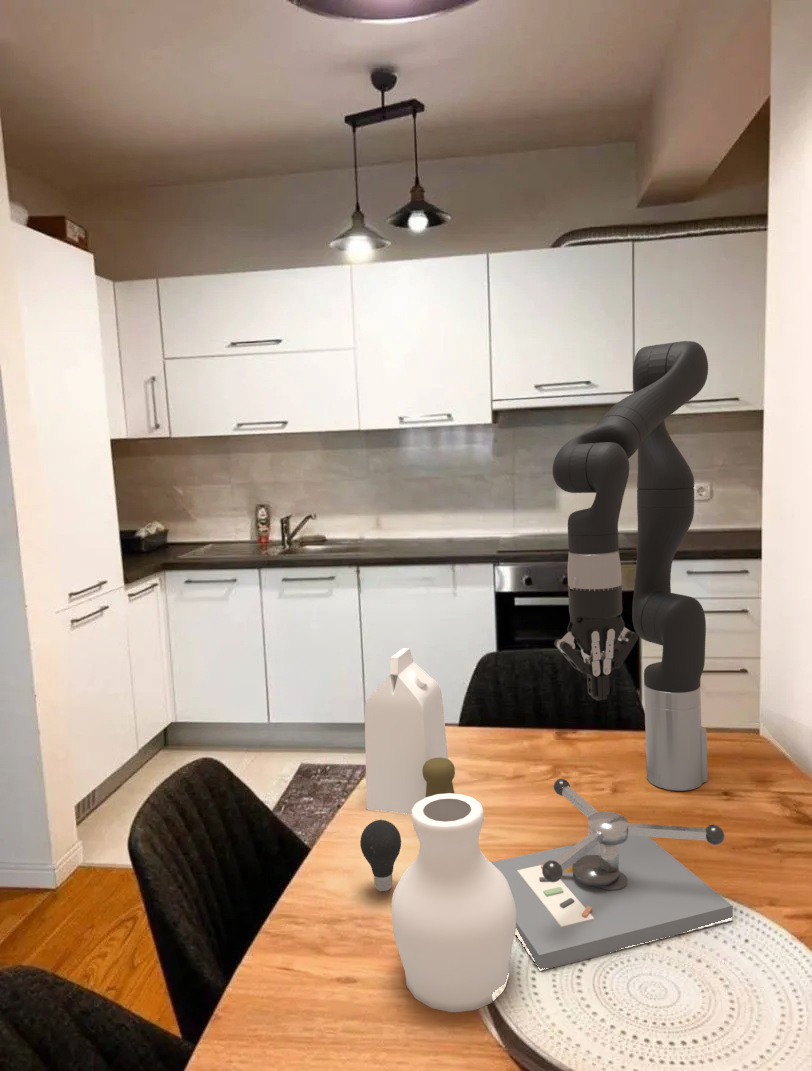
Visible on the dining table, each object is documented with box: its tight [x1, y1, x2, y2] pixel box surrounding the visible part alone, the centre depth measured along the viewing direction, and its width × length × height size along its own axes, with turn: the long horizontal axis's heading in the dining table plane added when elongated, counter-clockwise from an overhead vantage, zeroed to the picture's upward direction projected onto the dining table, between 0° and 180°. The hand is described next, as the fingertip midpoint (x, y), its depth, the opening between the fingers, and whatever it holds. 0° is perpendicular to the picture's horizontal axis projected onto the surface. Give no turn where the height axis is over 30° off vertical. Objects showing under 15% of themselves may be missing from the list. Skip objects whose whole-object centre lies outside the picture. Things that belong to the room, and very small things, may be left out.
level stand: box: [490, 835, 734, 969], centre depth 98 cm, size 26×20×2 cm
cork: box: [422, 758, 456, 797], centre depth 119 cm, size 6×6×11 cm
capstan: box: [542, 778, 726, 887], centre depth 97 cm, size 23×25×8 cm
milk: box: [364, 647, 449, 815], centre depth 129 cm, size 12×12×26 cm
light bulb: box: [359, 819, 402, 894], centre depth 103 cm, size 6×6×10 cm
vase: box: [391, 793, 517, 1013], centre depth 85 cm, size 14×14×20 cm
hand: (598, 698), depth 109 cm, fingers closed
